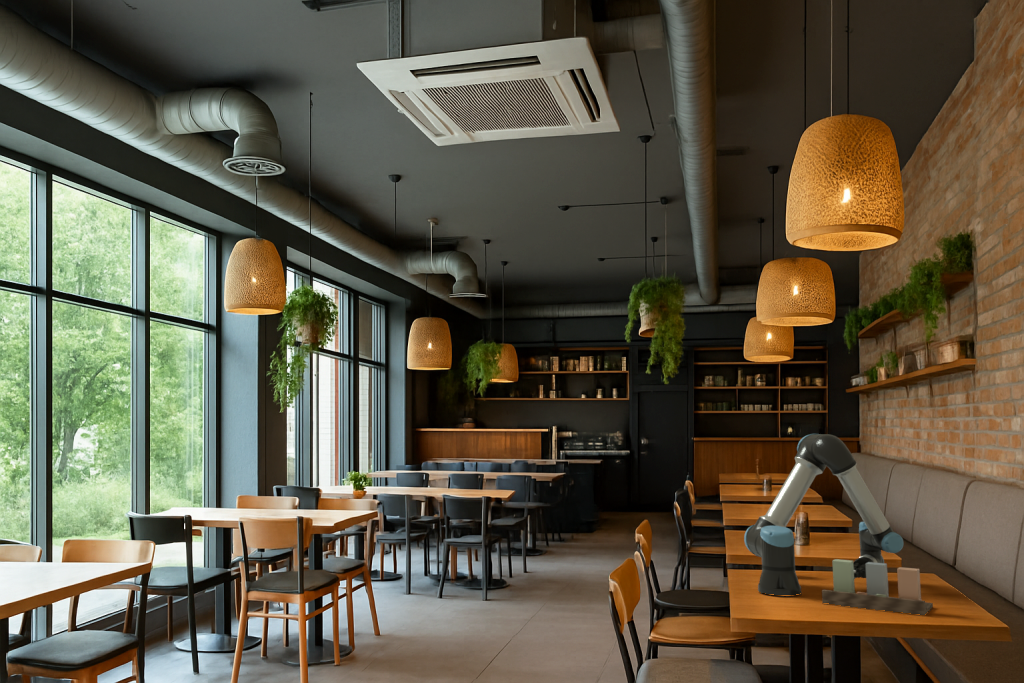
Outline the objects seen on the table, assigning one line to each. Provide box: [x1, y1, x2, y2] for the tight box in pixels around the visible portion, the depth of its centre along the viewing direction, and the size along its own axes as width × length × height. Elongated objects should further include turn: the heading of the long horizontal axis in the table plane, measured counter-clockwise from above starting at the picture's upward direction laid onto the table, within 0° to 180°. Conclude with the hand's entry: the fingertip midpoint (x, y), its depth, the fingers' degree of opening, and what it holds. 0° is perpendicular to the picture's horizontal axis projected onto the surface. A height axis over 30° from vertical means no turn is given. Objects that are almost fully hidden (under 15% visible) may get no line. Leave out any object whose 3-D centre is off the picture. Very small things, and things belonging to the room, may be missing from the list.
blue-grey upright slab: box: [865, 562, 890, 597], centre depth 278 cm, size 6×4×12 cm, turn 53°
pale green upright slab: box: [831, 558, 856, 593], centre depth 285 cm, size 6×4×12 cm, turn 54°
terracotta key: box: [896, 566, 922, 600], centre depth 268 cm, size 6×4×12 cm, turn 53°
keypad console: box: [821, 589, 934, 616], centre depth 276 cm, size 32×14×5 cm, turn 53°
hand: (849, 576), depth 289 cm, fingers closed
